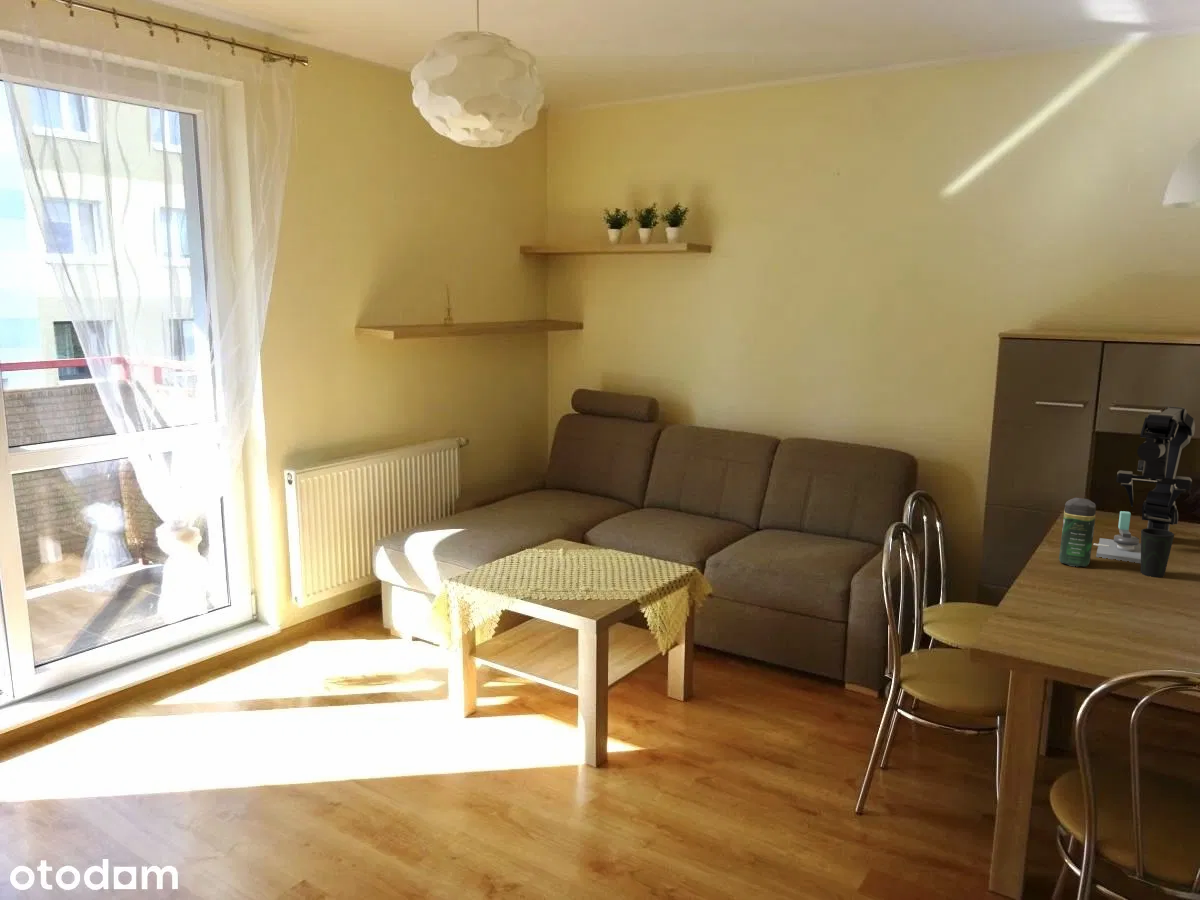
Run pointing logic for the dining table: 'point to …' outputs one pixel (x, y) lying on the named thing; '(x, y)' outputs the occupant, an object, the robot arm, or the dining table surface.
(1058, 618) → the dining table surface
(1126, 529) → the handle
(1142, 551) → the cup
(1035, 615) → the dining table surface
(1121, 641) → the dining table surface
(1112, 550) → the base
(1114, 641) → the dining table surface
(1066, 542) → the coffee jar
